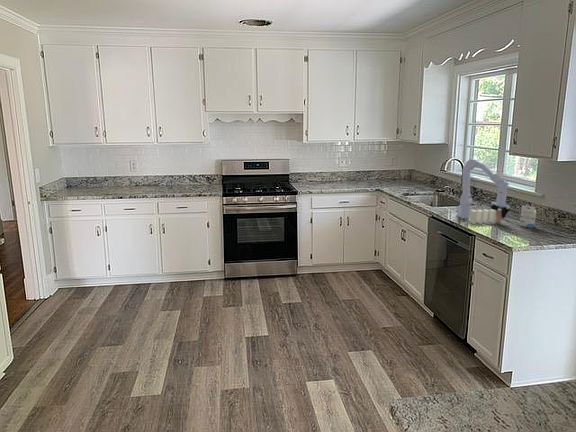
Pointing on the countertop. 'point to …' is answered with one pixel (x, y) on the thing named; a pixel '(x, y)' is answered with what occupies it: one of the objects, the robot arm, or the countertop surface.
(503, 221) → the mat
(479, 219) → the cream domino
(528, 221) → the ink box
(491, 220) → the cream domino
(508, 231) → the countertop surface
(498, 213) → the terracotta domino
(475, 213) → the cream domino
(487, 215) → the cream domino
